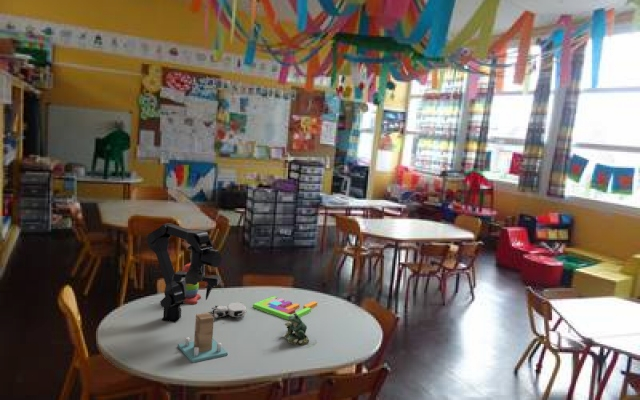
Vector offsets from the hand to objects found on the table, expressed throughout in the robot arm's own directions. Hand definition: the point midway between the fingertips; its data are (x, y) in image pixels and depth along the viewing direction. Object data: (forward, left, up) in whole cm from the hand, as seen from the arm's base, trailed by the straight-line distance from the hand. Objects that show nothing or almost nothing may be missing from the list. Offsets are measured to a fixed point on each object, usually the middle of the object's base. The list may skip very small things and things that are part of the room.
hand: (195, 298), depth 209 cm
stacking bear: (-13, +30, -13) cm, 35 cm away
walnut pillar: (+10, -19, -12) cm, 25 cm away
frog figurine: (+43, +2, -14) cm, 45 cm away
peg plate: (+10, -19, -13) cm, 25 cm away
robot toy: (+10, +18, -13) cm, 25 cm away
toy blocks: (+34, +37, -14) cm, 52 cm away
